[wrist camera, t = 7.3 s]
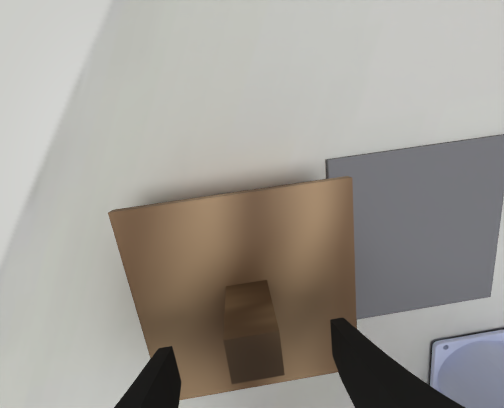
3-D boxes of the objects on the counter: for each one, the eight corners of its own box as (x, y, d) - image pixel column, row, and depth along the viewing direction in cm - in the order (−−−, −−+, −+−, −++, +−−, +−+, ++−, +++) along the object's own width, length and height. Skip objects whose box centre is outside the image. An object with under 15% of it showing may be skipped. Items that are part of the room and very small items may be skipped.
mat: (505, 134, 18) (511, 133, 18) (485, 294, 22) (490, 296, 22) (325, 159, 18) (327, 160, 18) (334, 319, 21) (336, 322, 21)
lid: (347, 176, 14) (402, 191, 9) (353, 360, 17) (396, 438, 12) (113, 209, 13) (51, 243, 9) (166, 393, 16) (141, 487, 12)
